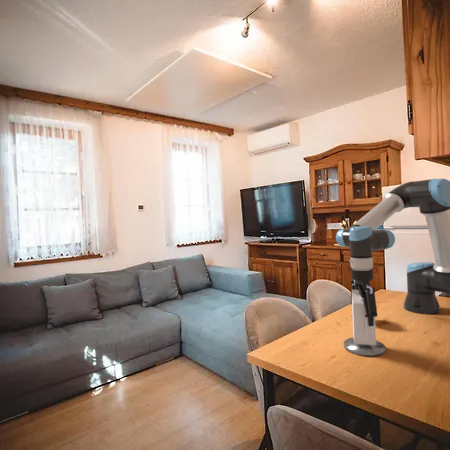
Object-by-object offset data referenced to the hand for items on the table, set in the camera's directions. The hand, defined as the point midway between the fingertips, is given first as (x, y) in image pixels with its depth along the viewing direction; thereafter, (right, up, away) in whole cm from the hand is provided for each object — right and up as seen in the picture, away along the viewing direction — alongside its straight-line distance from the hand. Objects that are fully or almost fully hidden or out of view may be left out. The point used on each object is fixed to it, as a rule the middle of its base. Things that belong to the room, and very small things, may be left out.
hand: (363, 329), depth 116 cm
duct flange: (0, -7, 0) cm, 7 cm away
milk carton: (0, -5, 0) cm, 5 cm away
